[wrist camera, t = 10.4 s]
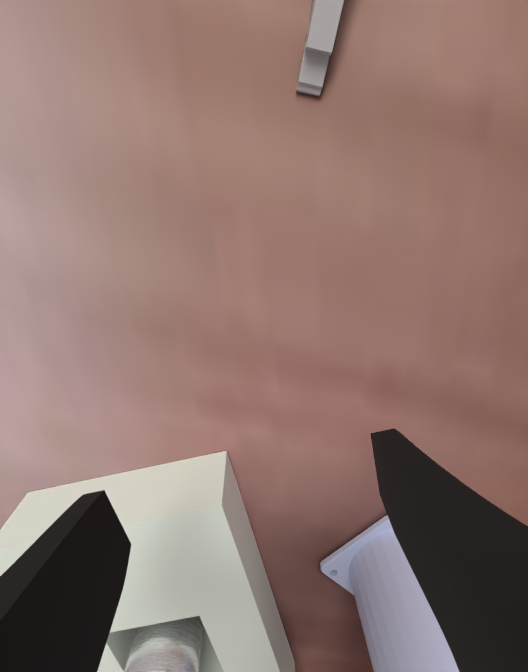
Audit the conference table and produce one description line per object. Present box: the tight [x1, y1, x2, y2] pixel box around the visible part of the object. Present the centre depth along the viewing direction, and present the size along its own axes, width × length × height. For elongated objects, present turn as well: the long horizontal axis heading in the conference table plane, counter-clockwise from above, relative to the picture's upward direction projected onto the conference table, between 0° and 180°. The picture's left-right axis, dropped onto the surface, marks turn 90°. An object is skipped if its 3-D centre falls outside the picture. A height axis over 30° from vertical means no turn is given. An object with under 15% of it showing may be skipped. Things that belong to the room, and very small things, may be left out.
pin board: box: [0, 451, 295, 672], centre depth 24 cm, size 20×12×4 cm, turn 13°
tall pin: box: [125, 616, 204, 672], centre depth 22 cm, size 4×4×8 cm
